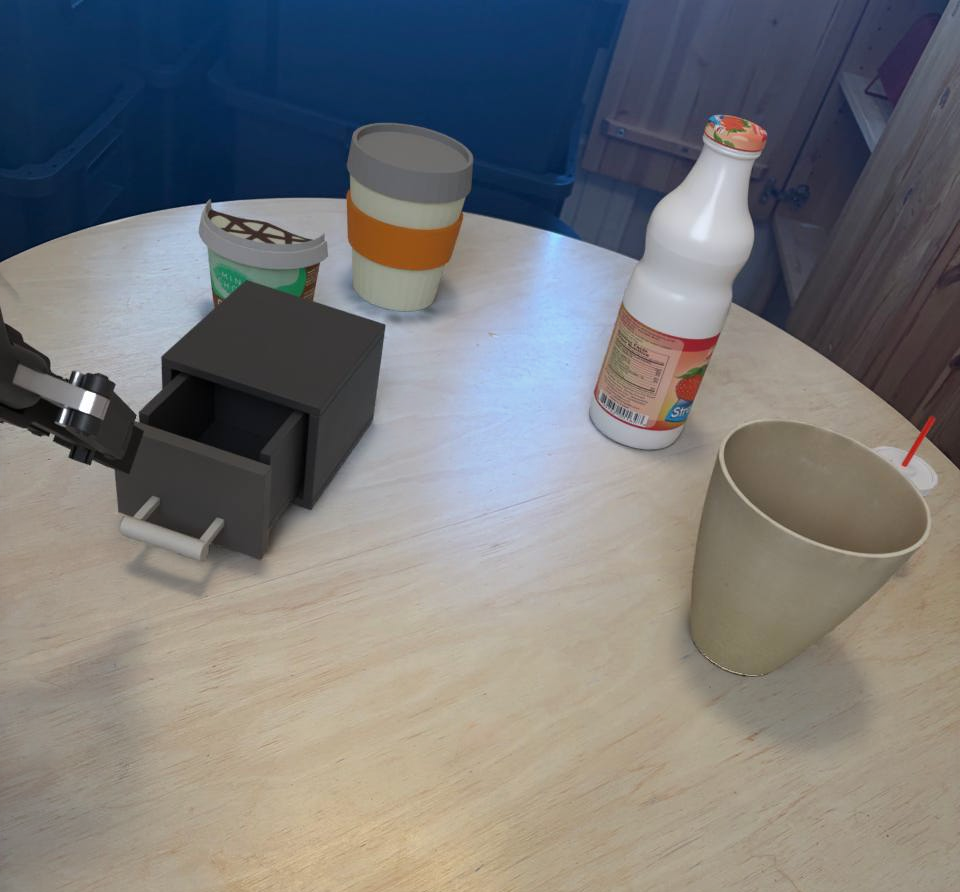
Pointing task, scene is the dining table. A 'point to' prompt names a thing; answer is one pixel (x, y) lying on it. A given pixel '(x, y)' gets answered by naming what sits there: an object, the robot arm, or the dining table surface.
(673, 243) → the fruit juice
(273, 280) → the food container
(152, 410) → the drawer
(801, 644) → the plant pot
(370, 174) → the reusable coffee cup
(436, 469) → the dining table surface
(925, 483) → the beverage cup
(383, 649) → the dining table surface
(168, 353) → the cabinet
